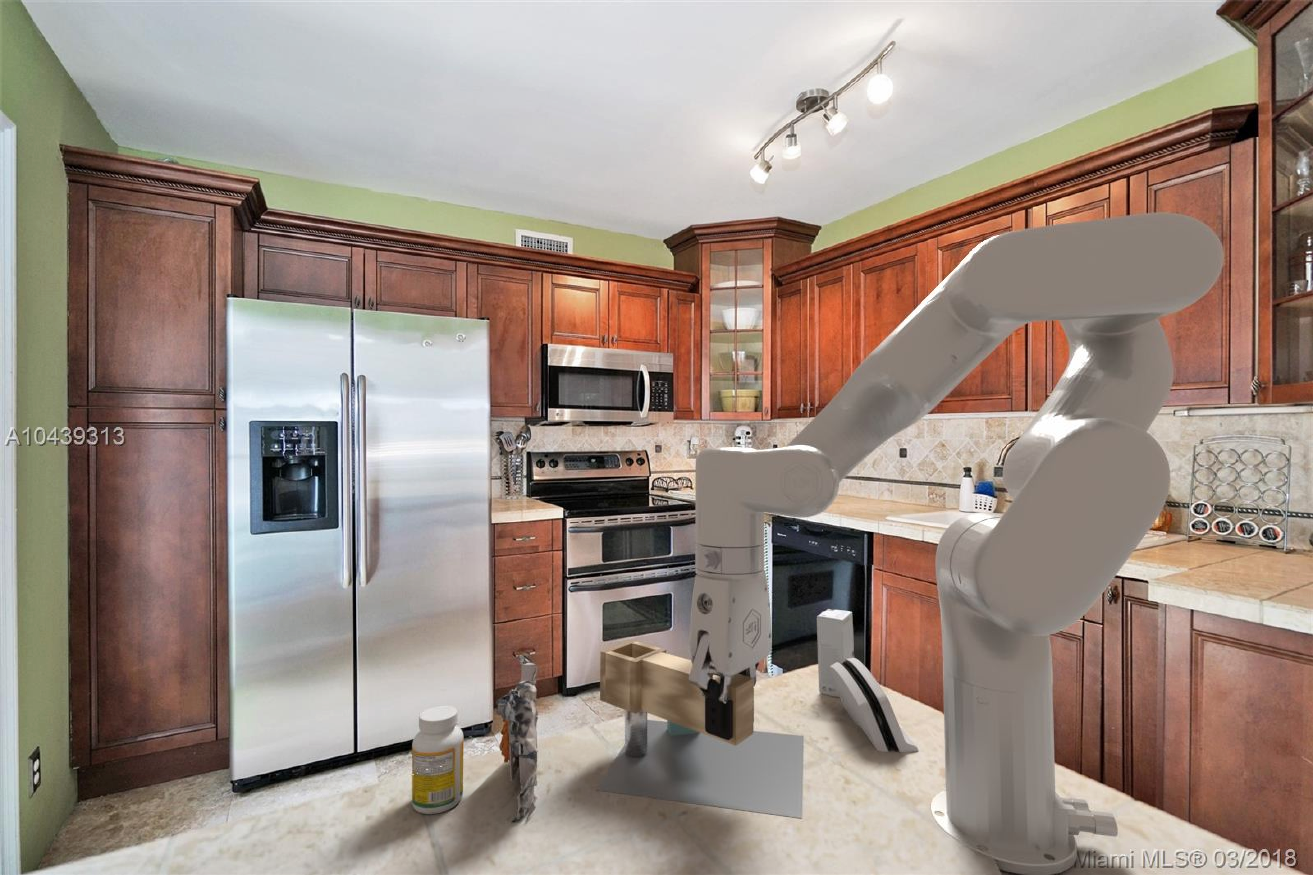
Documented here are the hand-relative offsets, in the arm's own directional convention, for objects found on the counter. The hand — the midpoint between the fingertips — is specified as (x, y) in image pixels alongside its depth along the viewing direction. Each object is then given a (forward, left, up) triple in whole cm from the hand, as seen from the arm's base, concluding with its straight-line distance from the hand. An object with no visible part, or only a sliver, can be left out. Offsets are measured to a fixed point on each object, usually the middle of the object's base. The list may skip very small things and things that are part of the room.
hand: (729, 726), depth 65 cm
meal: (+23, +4, -8) cm, 25 cm away
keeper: (+7, -10, -7) cm, 14 cm away
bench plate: (+3, -6, -8) cm, 11 cm away
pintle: (+12, -6, -7) cm, 15 cm away
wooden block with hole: (+7, -3, -1) cm, 8 cm away
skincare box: (-13, -35, -8) cm, 38 cm away
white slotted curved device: (-16, -21, -9) cm, 28 cm away
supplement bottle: (+31, +7, -8) cm, 33 cm away
